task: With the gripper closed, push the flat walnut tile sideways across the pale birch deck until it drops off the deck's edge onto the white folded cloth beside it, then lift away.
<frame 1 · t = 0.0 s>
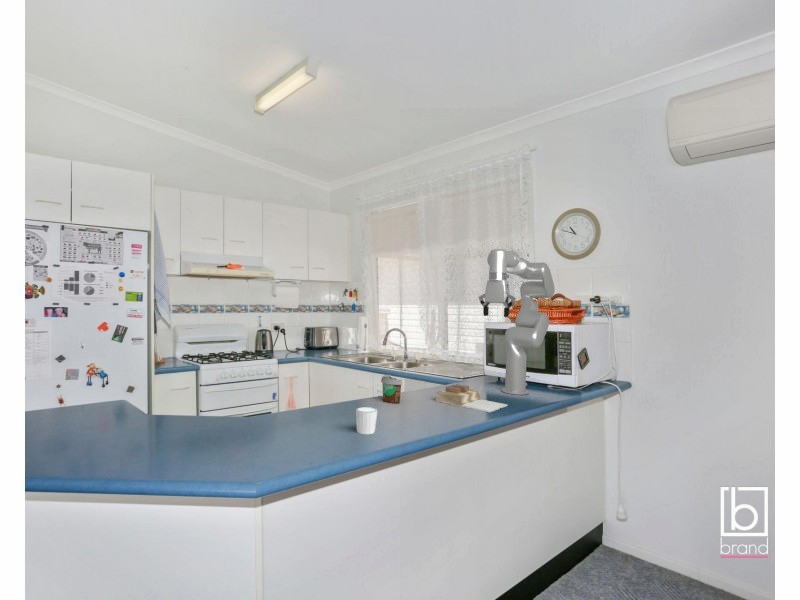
hand: (495, 316, 194), 37 cm above the countertop, tool pointing down, fingers open, 9 cm apart
food container: (388, 401, 181), on the countertop
white folded cloth: (484, 406, 180), on the countertop
white fluted cup: (365, 432, 139), on the countertop
walnut tile: (457, 388, 189), point 5 cm above the countertop, touching birch deck
birch deck: (458, 400, 188), on the countertop
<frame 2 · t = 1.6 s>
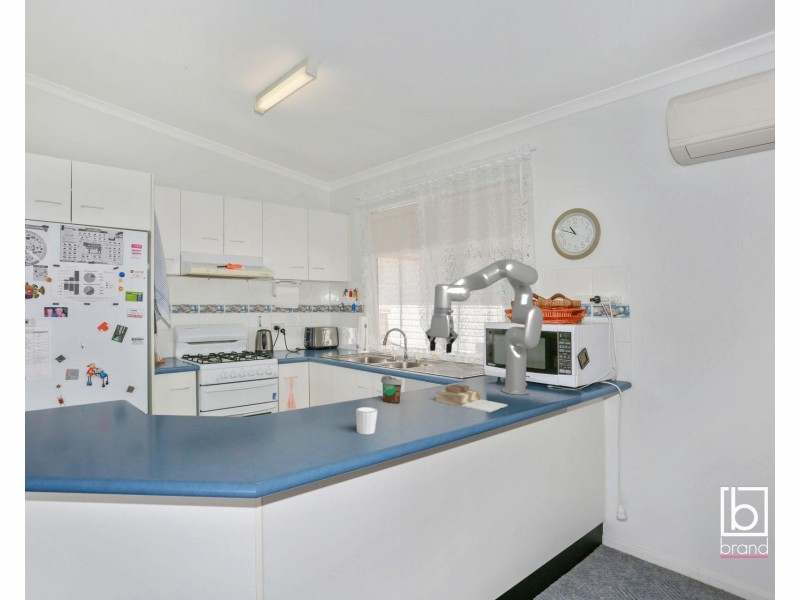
hand: (440, 351, 195), 20 cm above the countertop, tool pointing down, fingers open, 7 cm apart
nothing on the countertop moved.
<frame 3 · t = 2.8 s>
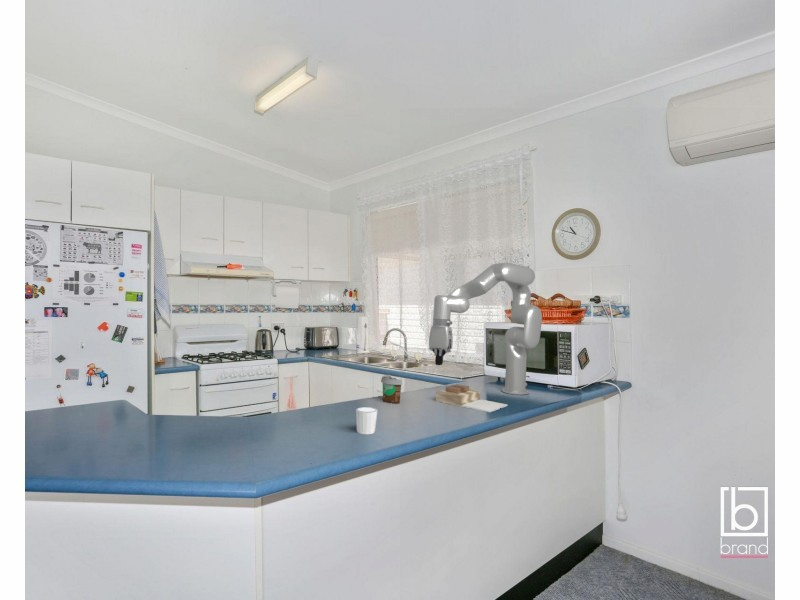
hand: (438, 364, 194), 14 cm above the countertop, tool pointing down, fingers closed
nothing on the countertop moved.
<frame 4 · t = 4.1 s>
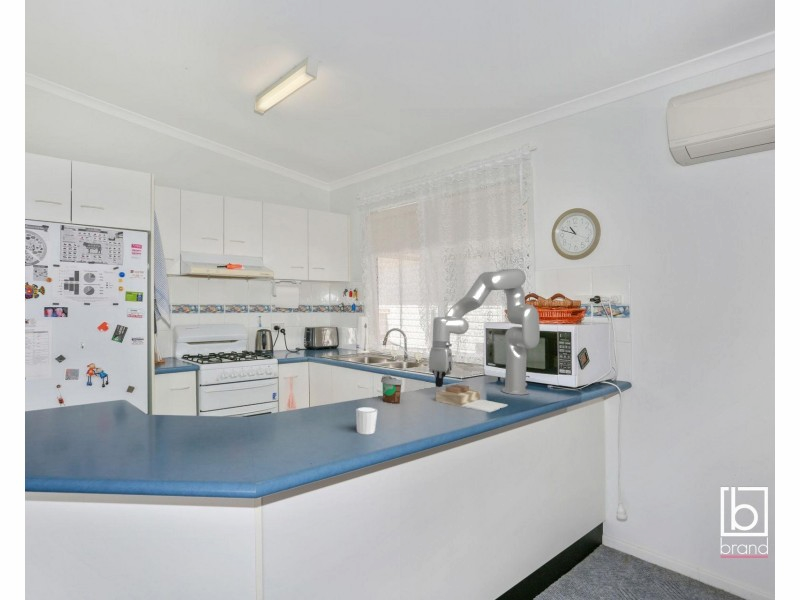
hand: (439, 386, 194), 5 cm above the countertop, tool pointing down, fingers closed
nothing on the countertop moved.
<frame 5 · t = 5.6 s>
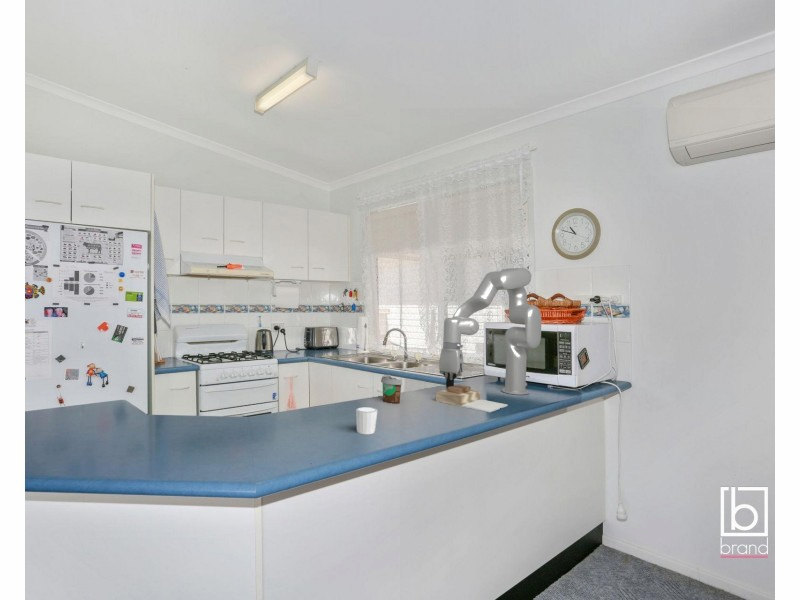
hand: (449, 388, 191), 5 cm above the countertop, tool pointing down, fingers closed
walnut tile: (459, 389, 188), point 5 cm above the countertop, touching birch deck, gripper
everything else where it was.
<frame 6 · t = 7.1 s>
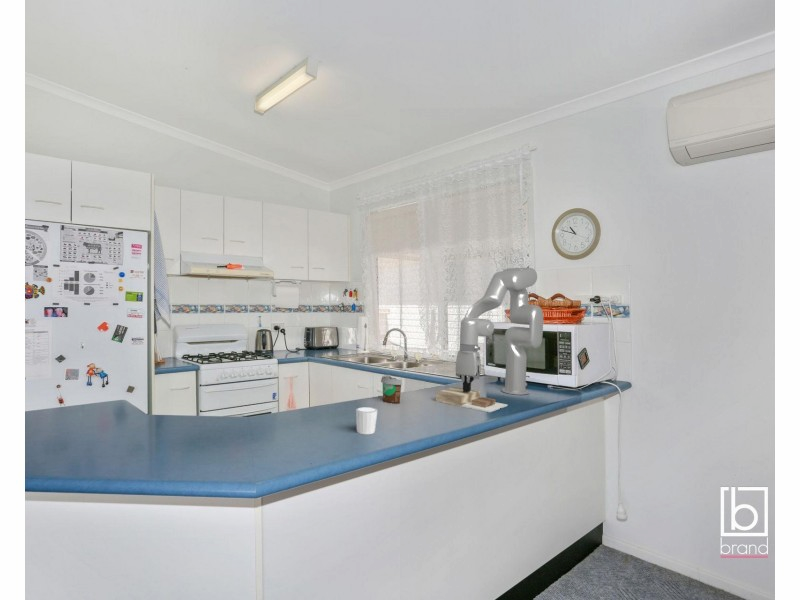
hand: (466, 391, 186), 5 cm above the countertop, tool pointing down, fingers closed
walnut tile: (483, 402, 181), point 2 cm above the countertop, tilted 180°, touching white folded cloth
everything else where it was.
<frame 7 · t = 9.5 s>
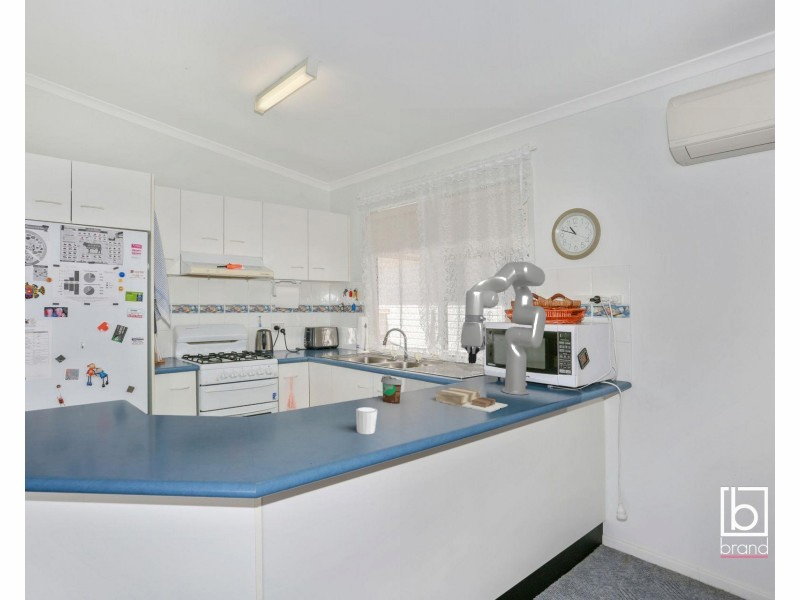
hand: (472, 363, 185), 17 cm above the countertop, tool pointing down, fingers closed
nothing on the countertop moved.
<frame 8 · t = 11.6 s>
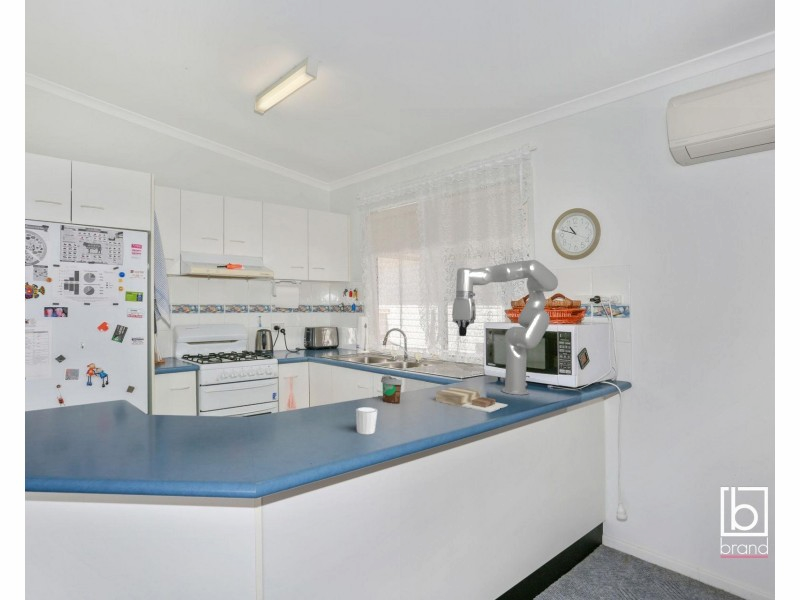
hand: (462, 335, 199), 27 cm above the countertop, tool pointing down, fingers closed
nothing on the countertop moved.
at the end: walnut tile point 1.6 cm above the countertop; walnut tile inside the target area on the white folded cloth (0.9 cm from its centre), point 1.6 cm above the white folded cloth's base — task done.
